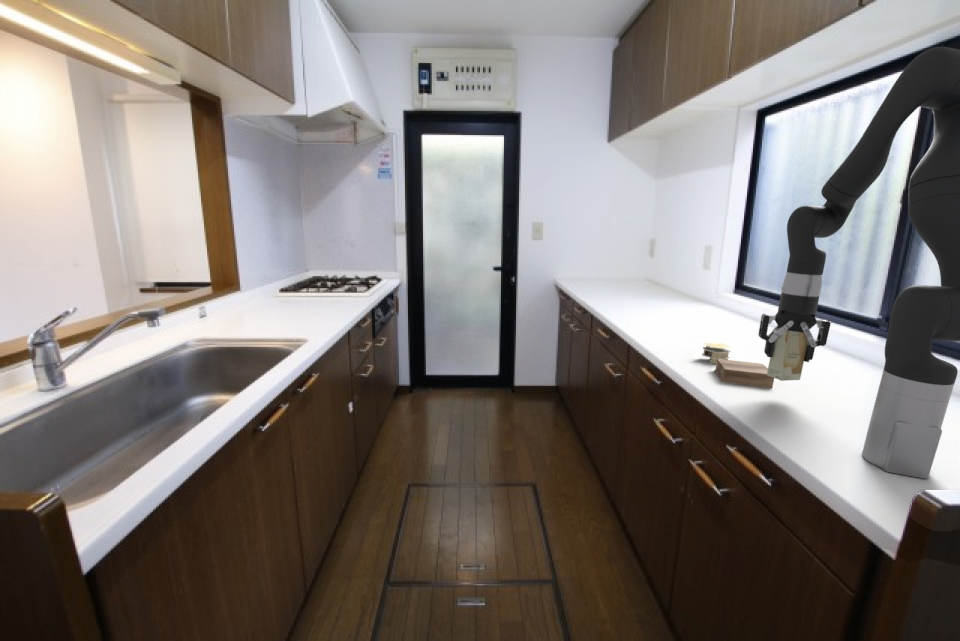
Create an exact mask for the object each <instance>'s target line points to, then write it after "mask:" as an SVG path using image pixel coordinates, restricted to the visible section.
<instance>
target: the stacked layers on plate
mask: <svg viewBox="0 0 960 641" xmlns="http://www.w3.org/2000/svg"><path fill="white" fill-rule="evenodd" d="M703 345H704V347H702V350H703V352H702V353H701V355H702V357H705V358H709V362H710V363H711V364H713V365H716V363H717V359H723V360H729V359H730V356H729V354H730V353H731V350H729V349H727V348H731V346H730V345H726V344H724V343H718V342H717V343H716V342H715V343H714V342H711V343H710V342H704V343H703Z"/></svg>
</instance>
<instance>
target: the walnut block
mask: <svg viewBox="0 0 960 641" xmlns="http://www.w3.org/2000/svg"><path fill="white" fill-rule="evenodd" d="M714 371H715V373H717V375H718V376H719V378H720V380H721V381H722V383H730V384H738V385H745V384H746V386H753V387H761V388H763V387H764V388H769V389H773V385H774V381H775V378H773V377H770V376H768V375H767V371H768V366H766V365H765V364H763V363H758V362H749V361H741V360H740V361H739V360H729V359H728V360H723V359H717V363H716V364H715V370H714Z"/></svg>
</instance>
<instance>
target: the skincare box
mask: <svg viewBox="0 0 960 641" xmlns="http://www.w3.org/2000/svg"><path fill="white" fill-rule="evenodd" d="M776 330H777V331H778V330H779V329H776ZM781 332H782V331H781ZM773 343H774V348H773V353H772V357H769V362H768V366H767V368H768V371H767V375H768V376H770V377H773V378H774V379H776V380H779V381H781V382H784V381H801V376H802V372H803V367H804V363H805V361H804V359H805V354H806V349H807V345H808V341H807V339H806V337H805V334H804V333H802V332H797V331H790V330H786V331H783V334H782V335H781V336H780V337H778V338H777V339H776V340H775V341H774V342H773Z"/></svg>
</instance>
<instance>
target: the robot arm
mask: <svg viewBox="0 0 960 641" xmlns="http://www.w3.org/2000/svg"><path fill="white" fill-rule="evenodd" d="M919 107H920V108H924V109H925V108H926V109H930V110H931V111H932V113H933V137H932V141H931V144H930V147H929V148H928V150H927V151H926V153H925V154H924V155H923V156H922V157H921V159H920V161H919V162H918V164H917V165H916V166H915V168H914V170H913V172H912V173H911V174H910V175H911V176H910V178H909V182H908V191H907V192H908V193H907V196H908V197H907V212H908V218H909V221H910V223H911V226H912V227H913V228H914V230H915V231H916V233H917V235H918V236H919V237H920V238H921V239H922V241H923V242H924V243H925V245H926V246H927V247H928V248H929V250H930V252H931V253H932V255H933V256H934V258H935V260H936V262H937V265H938V270H939V275H940V285H928V284H927V285H923V284H917V285H916V284H915V285H911V286H908V287H906V288H904V289H903V290H902V291H900V293H899V294H898V295H897V297H896V298H895V301H894V303H893V306H892V308H891V313H890V318H889V323H888V328H887V335H886V340H885V346H884V358H885V359H884V366H883V369H882V373H881V374H882V375H881V377H880V378H881V379H880V382H879V385H878V389H877V392H876V397H875V402H874V404H873V408H872V413H871V416H870V420H869V424H868V427H867V432H866V436H865V440H864V444H863V448H862V451H861V455H862V457H863V458H864V460H866V461H867V462H870V463H871V464H872V465H874V466H877V467H879V468H880V469H882V470H883V471H884V472H887V473H891V474H892V473H893V474H896V475H897V474H898V475H902V476H903V475H904V476H908V477H915V478H920V479H924V480H925V479H926V480H929V476H930V473H931V471H932V466H933V464H934V460H935V457H936V453H937V450H938V446H939V444H940V440H941V437H942V434H943V430H942V426H943V424H944V419H945V416H946V413H947V409H948V406H949V403H950V401H951V396H952V392H953V389H954V388H955V387H954V386H955V383H956V381H957V380H956V379H957V376H958V372H959V371H958V368H957V366H956V365H954V364H953V363H951V362H948V361H946V360H943V359H942V358H939V357H936V356H935V355H934V354H933V353H932V346H933V345H932V344H933V340H934V341H943V342H944V341H946V342H960V49H959V48H958V49H957V48H953V47H948V46H947V47H946V46H936V47H931V48H928V49H926V50H924V51H922V52H921V53H920V54H918V55H917V56H915V58H914V59H913V60H911V61H910V62H909V63H908V64H907V66H906V67H905V68H904V69H903V71H902V72H901V73H900V75H899V76H898V78H897V79H896V80H895V82H894V84H892V87H891V88H890V90H889V92H888V93H887V94H886V97H885V98H884V100H883V102H882V103H881V105H880V106H879V107H878V108H877V109H878V110H877V111H876V113H875V114H874V116H873V117H872V119H871V120H870V122H869V124H868V126H867V127H866V129H865V131H864V132H863V133H862V135H861V137H860V138H859V140H858V141H857V143H856V145H855V146H854V147H853V149H852V150H851V151H850V153H849V154H848V155H847V157H846V158H845V159H844V160H843V161H842V163H841V164H840V165H839V166H838V167H837V169H836V170H835V171H834V172H833V173H832V175H831V176H830V177H829V178H828V180H827V181H826V182H825V184H824V185H823V186H822V189H821V196H822V197H823V198H824V199H825V200H826V201H825V202H824V204H823V205H822V206H817V205H801V206H799V207H797V208H795V209H794V210H793V211H792V212H791V214H790V216H789V218H788V220H787V224H786V236H787V244H788V245H787V246H788V251H789V253H788V254H789V258H788V261H787V262H788V263H787V269H786V273H785V275H784V279H783V283H782V286H781V289H780V290H781V293H780V298H779V303H778V308H777V312H776V314H774V315H771V314H766V313H762V314H761V315H760V316H761V317H760V323H759V329H758V337H759V338H760V339H761V340H764V341H765V345H764V350H763V352H764V354H765V355H766V357H767V358H770V357H772V353H773V348H774V343H773V342H774V341H775V340H776V339H777V338H778V337H780V336H781V335H782V334H783V331H786V330H790V331H797V332H802V333H804V334H805V337H806V339H807V341H808V345H807V349H806V354H805V359H804V363H810V361H812V360H813V359H814V356H815V355H814V354H815V350H816V348H817V347H824V346H826V345H827V342H828V337H829V332H830V327H831V322H830V321H829V320H827V319H817V318H816V314H817V310H818V304H819V301H820V297H821V296H820V295H821V290H822V284H823V274H824V270H825V264H826V258H827V253H826V252H825V250H823V249H821V248H818V247H817V246H816V241H815V240H816V239H817V238H818V239H819V238H820V239H823V238H829V237H831V236H832V235H834V234H836V233H837V232H838V231H839V230H841V228H842V227H843V226H844V225H845V223H846V222H847V219H848V218H849V216H850V214H851V212H852V211H853V208H854V206H855V204H856V203H857V200H859V199H860V198H861V197H862V195H863V194H865V192H866V191H867V190H868V189H869V188H871V187H870V186H872V185H873V183H875V181H876V180H877V179H878V178H879V177H880V176H881V174H882V172H883V170H884V169H885V167H886V164H887V162H888V160H889V159H888V158H889V155H890V152H891V148H892V145H893V142H894V140H895V137H896V135H897V133H898V132H899V130H900V128H901V127H902V125H903V124H904V122H906V120H907V119H908V118H909V117H910V116H911V115H912V114H913V113H914V112H915V111H916V110H917V109H918V108H919ZM773 321H774V322H775V323H776V326H775V327H774V328H773V329H772V331H771V332H770V333H769V334H768V328H769V325H770V324H772V323H773ZM815 326H816V328H817V329H818V332H817V337H816V339H814V336H813V334H812V332H811V329H812V328H813V327H815ZM776 329H779V330H778V331H777V330H776ZM781 331H782V332H781Z"/></svg>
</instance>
